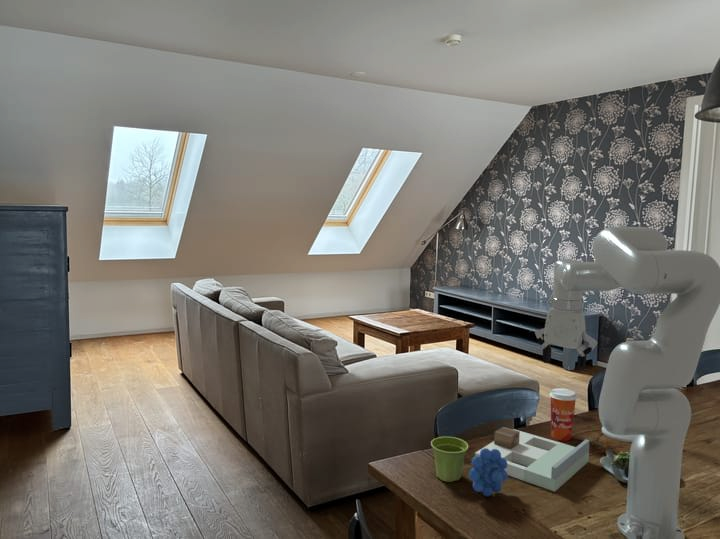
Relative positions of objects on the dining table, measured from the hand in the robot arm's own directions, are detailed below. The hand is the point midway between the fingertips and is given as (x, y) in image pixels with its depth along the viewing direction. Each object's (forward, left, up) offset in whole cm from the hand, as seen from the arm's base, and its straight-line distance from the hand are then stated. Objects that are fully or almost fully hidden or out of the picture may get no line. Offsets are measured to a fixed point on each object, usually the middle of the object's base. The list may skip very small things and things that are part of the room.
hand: (563, 365), depth 155 cm
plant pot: (-34, +14, -25) cm, 45 cm away
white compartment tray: (-12, +2, -25) cm, 28 cm away
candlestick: (+26, -10, -25) cm, 37 cm away
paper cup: (+10, +3, -25) cm, 27 cm away
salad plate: (+1, -21, -25) cm, 33 cm away
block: (-12, +10, -22) cm, 27 cm away
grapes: (-36, +1, -25) cm, 44 cm away
